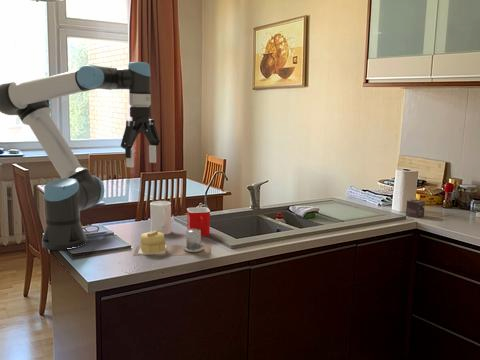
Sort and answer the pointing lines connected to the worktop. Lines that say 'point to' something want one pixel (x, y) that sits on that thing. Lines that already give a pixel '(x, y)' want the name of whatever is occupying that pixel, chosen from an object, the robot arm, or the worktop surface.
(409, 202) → the box
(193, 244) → the clear drinking glass
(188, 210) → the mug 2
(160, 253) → the pad
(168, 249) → the board
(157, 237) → the yellow block
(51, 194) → the robot arm
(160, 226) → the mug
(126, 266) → the worktop surface
